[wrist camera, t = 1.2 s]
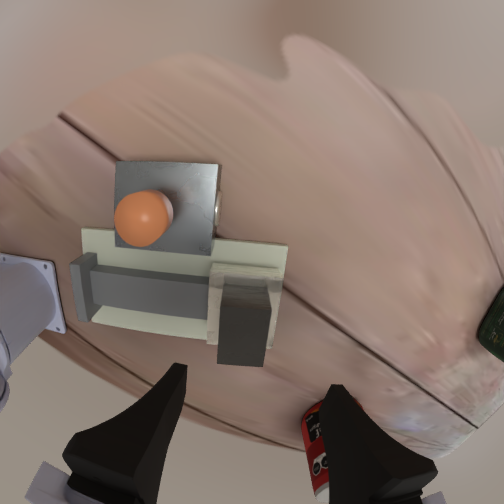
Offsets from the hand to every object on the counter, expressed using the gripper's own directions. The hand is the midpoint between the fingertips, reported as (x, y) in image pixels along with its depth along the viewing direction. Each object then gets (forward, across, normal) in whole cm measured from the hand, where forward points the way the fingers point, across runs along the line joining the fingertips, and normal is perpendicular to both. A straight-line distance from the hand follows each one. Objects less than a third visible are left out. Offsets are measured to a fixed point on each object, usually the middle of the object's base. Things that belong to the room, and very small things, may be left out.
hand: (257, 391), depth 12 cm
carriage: (+11, +1, 0) cm, 11 cm away
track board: (+10, +7, 0) cm, 12 cm away
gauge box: (+10, +8, -6) cm, 15 cm away
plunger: (+5, +8, -6) cm, 11 cm away
